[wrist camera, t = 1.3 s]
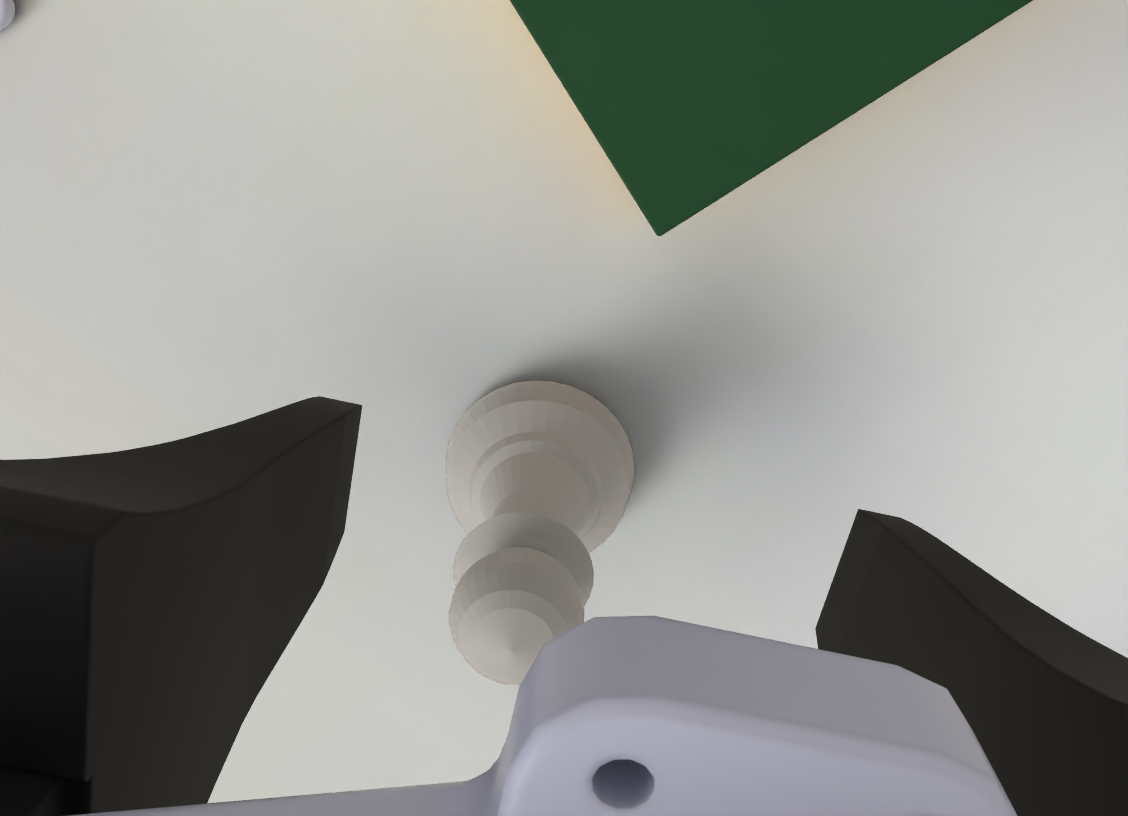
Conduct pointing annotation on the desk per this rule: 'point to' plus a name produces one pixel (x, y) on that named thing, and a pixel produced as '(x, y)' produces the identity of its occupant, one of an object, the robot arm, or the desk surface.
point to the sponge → (733, 79)
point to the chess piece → (530, 518)
